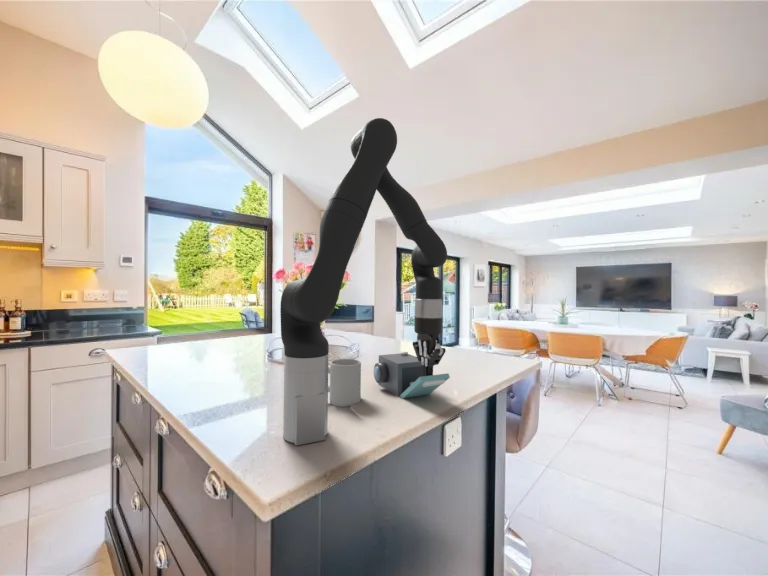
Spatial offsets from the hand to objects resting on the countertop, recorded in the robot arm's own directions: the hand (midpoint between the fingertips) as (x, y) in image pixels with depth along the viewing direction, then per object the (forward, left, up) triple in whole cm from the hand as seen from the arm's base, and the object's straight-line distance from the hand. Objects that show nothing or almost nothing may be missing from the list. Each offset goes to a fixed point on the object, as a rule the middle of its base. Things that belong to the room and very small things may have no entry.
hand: (427, 379), depth 90 cm
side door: (+7, 0, -6) cm, 9 cm away
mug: (+12, +21, -7) cm, 25 cm away
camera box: (+14, +2, -7) cm, 16 cm away
